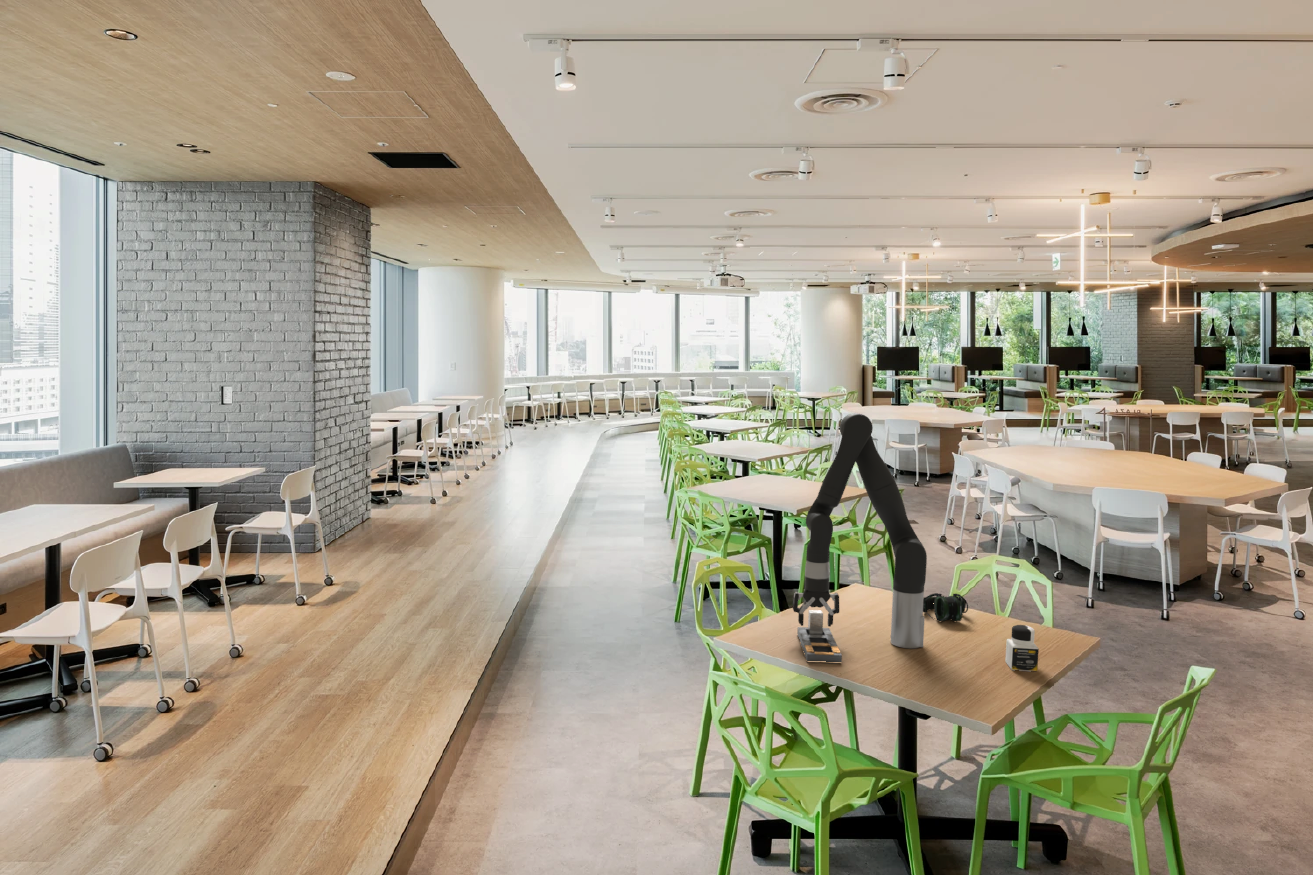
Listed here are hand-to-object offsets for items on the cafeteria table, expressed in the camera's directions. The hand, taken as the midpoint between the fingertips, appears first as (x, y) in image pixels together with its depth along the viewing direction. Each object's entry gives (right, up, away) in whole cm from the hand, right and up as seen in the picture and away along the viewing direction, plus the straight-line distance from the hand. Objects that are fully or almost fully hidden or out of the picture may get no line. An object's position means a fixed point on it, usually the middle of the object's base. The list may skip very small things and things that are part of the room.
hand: (815, 625), depth 268 cm
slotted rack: (0, -5, -8) cm, 9 cm away
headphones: (+49, -3, +27) cm, 56 cm away
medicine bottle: (+56, -8, -20) cm, 60 cm away
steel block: (0, -5, 0) cm, 5 cm away
